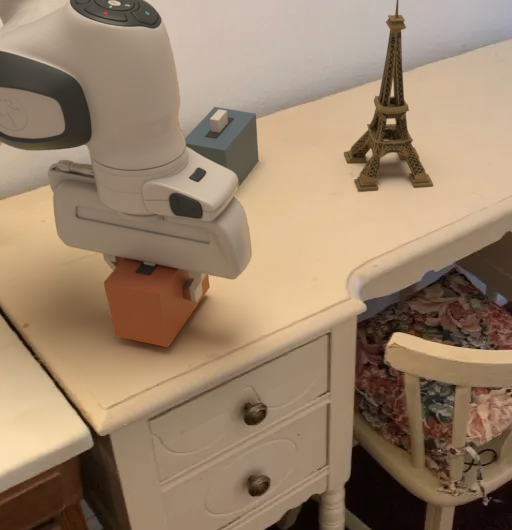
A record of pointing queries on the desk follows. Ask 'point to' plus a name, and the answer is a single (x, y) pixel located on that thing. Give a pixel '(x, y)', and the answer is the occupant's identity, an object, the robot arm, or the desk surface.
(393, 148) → the eiffel tower
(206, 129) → the slate tissue box
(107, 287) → the terracotta tissue box
